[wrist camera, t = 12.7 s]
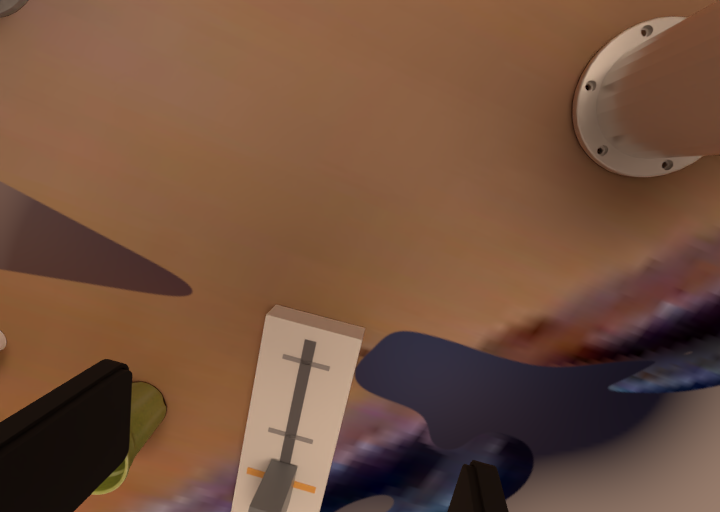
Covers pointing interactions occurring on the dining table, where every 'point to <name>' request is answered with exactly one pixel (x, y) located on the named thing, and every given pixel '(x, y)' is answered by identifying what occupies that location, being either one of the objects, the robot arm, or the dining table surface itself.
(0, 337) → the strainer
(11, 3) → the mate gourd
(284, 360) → the console
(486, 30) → the dining table surface
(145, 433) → the plant pot
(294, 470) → the fader
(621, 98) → the robot arm
